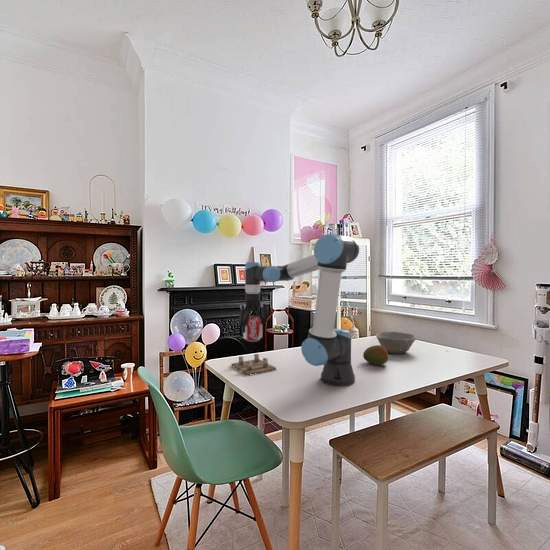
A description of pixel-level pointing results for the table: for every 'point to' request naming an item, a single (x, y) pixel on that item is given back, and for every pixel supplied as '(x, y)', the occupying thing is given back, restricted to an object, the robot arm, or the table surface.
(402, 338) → the ceramic bowl
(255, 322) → the beverage can
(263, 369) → the peg board
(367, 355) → the fruit
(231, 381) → the table surface
